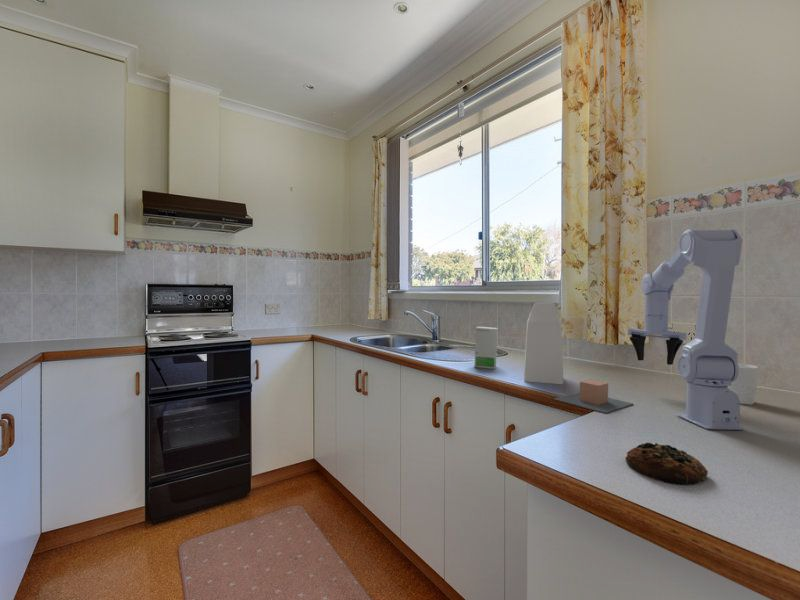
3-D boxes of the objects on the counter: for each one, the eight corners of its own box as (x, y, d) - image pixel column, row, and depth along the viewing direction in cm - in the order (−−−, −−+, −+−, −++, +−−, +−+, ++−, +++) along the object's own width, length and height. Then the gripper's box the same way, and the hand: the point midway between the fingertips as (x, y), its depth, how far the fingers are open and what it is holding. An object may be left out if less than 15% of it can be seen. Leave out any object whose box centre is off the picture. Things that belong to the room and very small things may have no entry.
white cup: (746, 398, 108) (747, 363, 107) (764, 406, 100) (765, 368, 100) (713, 396, 110) (714, 361, 110) (728, 403, 102) (729, 366, 102)
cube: (607, 401, 101) (608, 383, 101) (598, 404, 98) (598, 385, 98) (589, 397, 105) (589, 379, 105) (579, 400, 103) (579, 381, 102)
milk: (524, 381, 126) (525, 302, 125) (523, 374, 137) (525, 302, 136) (563, 384, 122) (565, 303, 122) (559, 376, 133) (561, 302, 133)
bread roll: (643, 482, 58) (643, 448, 59) (614, 461, 69) (615, 432, 70) (724, 492, 56) (724, 457, 57) (682, 469, 67) (682, 440, 68)
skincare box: (474, 367, 148) (474, 327, 147) (475, 364, 154) (476, 326, 154) (496, 369, 145) (497, 328, 145) (497, 366, 151) (497, 327, 151)
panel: (633, 404, 100) (633, 403, 100) (605, 413, 92) (605, 412, 92) (582, 392, 112) (582, 391, 111) (554, 399, 104) (554, 398, 104)
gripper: (691, 316, 107) (690, 364, 107) (635, 314, 119) (634, 357, 119) (681, 317, 103) (679, 367, 103) (624, 314, 115) (623, 359, 115)
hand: (654, 362), depth 111 cm, fingers open, 7 cm apart
